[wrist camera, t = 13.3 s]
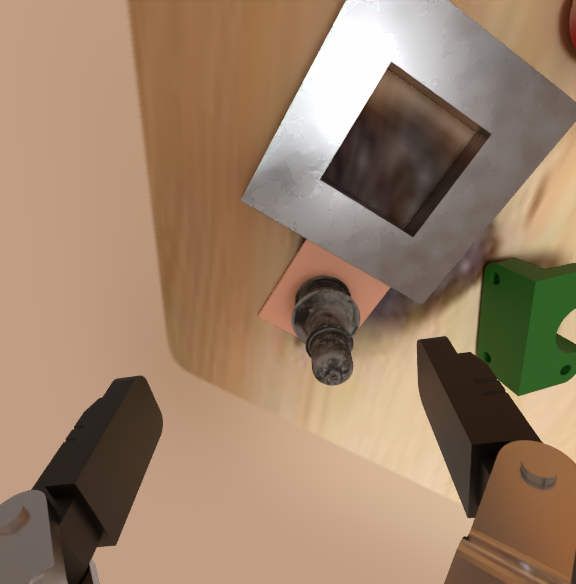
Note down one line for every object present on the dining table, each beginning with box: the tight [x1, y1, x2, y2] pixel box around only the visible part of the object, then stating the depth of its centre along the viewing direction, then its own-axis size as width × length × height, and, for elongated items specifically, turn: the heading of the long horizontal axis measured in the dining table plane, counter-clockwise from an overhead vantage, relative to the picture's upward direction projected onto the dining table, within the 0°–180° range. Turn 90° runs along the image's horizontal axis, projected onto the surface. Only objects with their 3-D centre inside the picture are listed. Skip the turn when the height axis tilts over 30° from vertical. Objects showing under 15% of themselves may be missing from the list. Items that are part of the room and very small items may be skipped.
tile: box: [258, 239, 390, 337], centre depth 36 cm, size 9×9×1 cm
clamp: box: [477, 258, 576, 396], centre depth 34 cm, size 12×6×9 cm, turn 3°
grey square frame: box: [240, 0, 576, 305], centre depth 29 cm, size 18×18×2 cm
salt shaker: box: [291, 275, 360, 385], centre depth 30 cm, size 6×6×12 cm
